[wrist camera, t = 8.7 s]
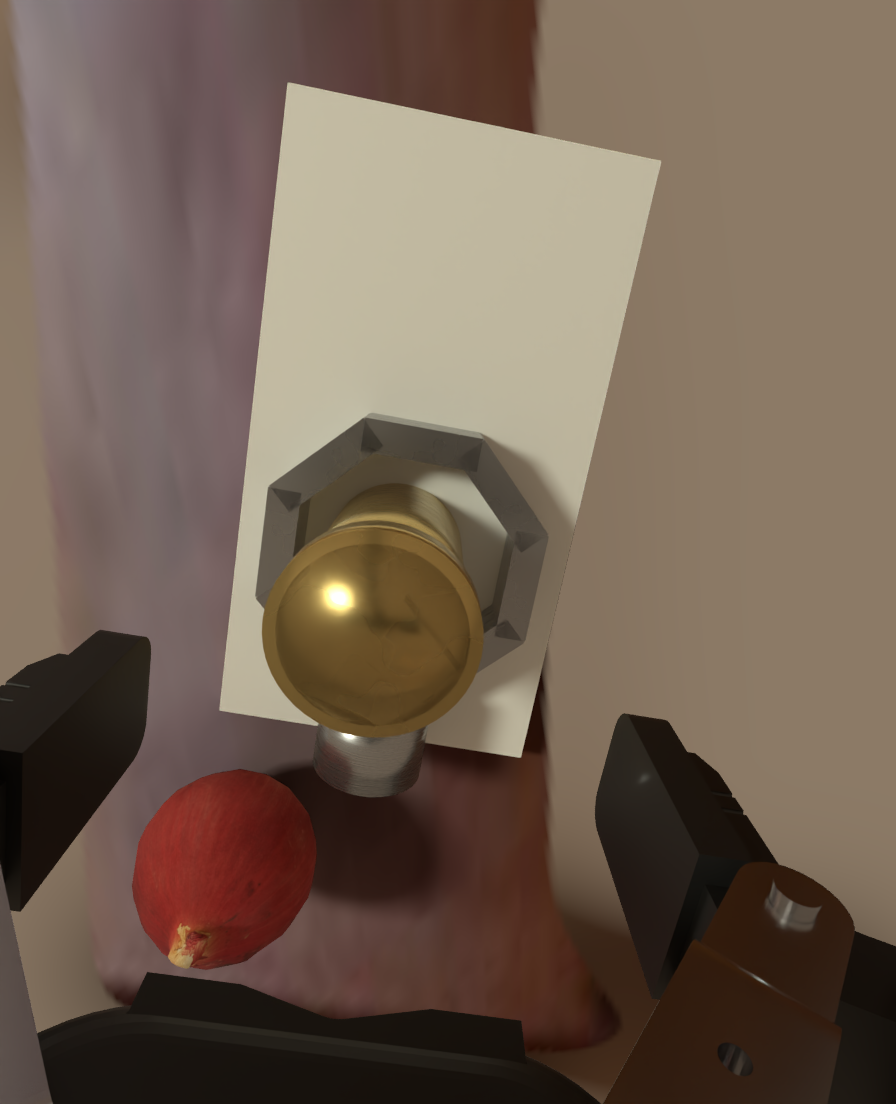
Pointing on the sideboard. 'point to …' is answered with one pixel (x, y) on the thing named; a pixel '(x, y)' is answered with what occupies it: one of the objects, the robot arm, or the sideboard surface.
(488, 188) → the board
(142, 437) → the sideboard surface
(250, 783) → the onion
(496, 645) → the grey octagonal ring
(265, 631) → the knob
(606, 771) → the robot arm
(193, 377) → the sideboard surface
